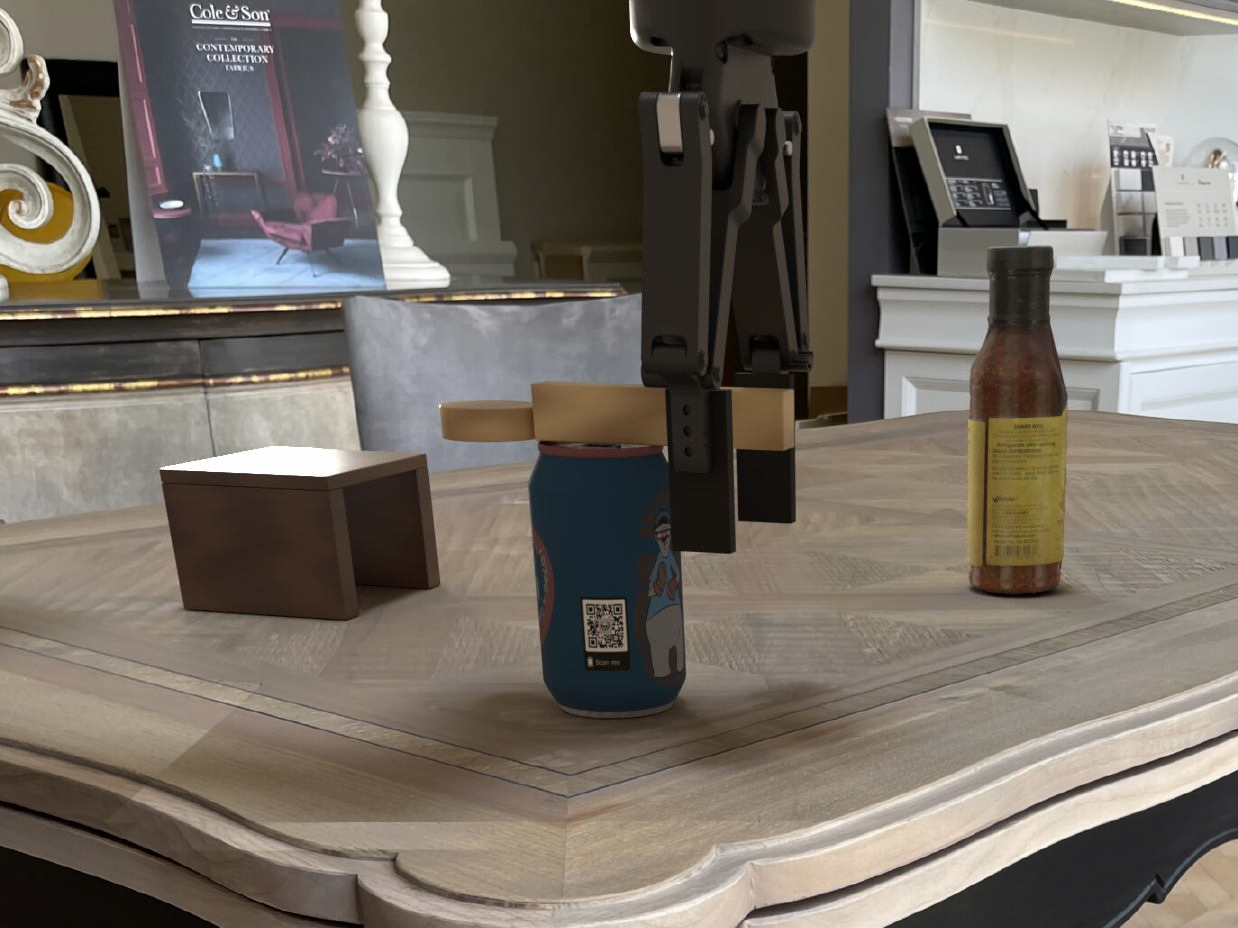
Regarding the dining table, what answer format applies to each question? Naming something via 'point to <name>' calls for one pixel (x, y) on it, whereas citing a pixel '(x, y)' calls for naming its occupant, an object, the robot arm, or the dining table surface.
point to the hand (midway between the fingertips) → (737, 534)
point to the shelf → (299, 529)
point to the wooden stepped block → (612, 416)
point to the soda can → (607, 578)
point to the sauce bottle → (1017, 432)
